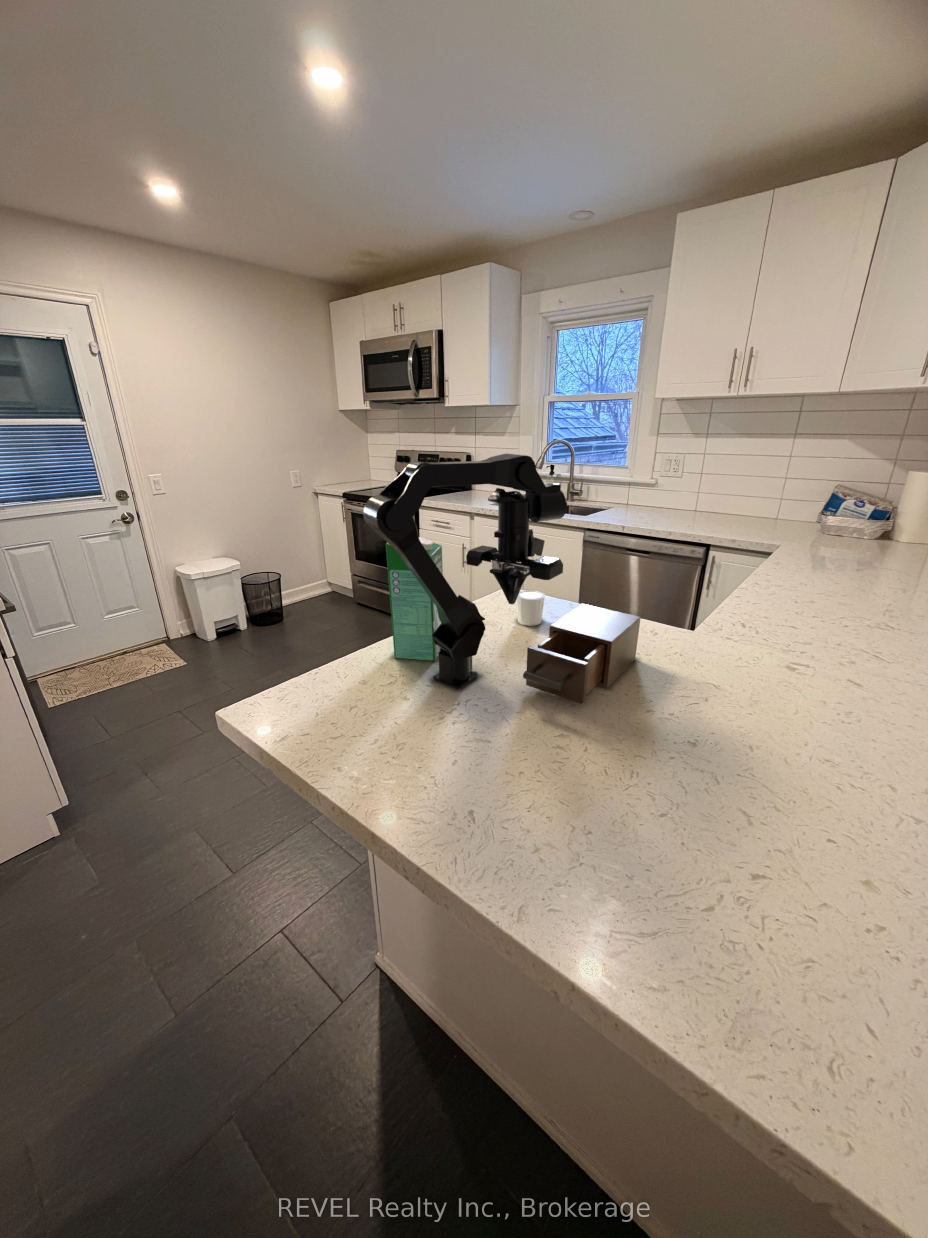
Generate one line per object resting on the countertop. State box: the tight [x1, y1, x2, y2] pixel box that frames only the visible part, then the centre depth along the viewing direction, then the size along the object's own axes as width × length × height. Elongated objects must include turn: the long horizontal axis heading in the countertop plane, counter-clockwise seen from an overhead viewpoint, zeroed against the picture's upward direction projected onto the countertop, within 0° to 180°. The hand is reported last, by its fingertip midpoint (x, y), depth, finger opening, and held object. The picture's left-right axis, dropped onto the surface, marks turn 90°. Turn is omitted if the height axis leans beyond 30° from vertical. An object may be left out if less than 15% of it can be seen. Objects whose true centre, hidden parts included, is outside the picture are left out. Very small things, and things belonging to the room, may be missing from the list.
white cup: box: [516, 590, 546, 627], centre depth 121 cm, size 7×7×7 cm
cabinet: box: [548, 603, 642, 689], centre depth 99 cm, size 15×13×10 cm
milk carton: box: [385, 537, 444, 662], centre depth 104 cm, size 9×9×25 cm
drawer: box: [522, 631, 607, 705], centre depth 90 cm, size 18×11×8 cm, turn 142°
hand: (512, 603), depth 98 cm, fingers closed
